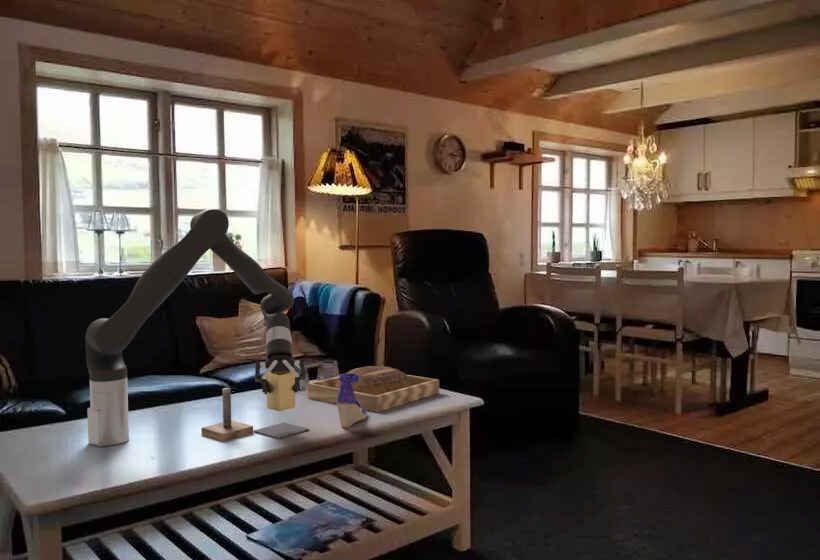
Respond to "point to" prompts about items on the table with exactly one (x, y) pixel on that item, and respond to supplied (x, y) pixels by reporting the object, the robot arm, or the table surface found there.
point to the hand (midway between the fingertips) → (281, 392)
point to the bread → (378, 380)
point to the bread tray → (380, 402)
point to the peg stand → (227, 423)
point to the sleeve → (280, 390)
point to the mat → (280, 430)
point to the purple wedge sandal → (349, 402)
